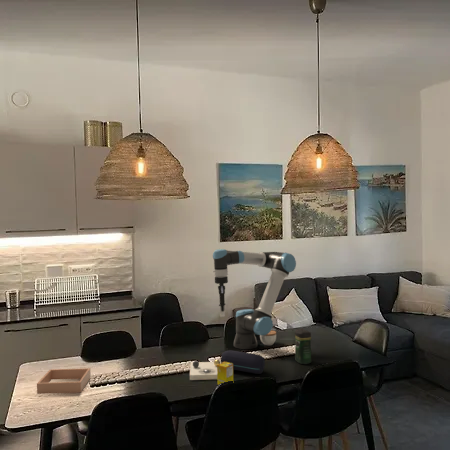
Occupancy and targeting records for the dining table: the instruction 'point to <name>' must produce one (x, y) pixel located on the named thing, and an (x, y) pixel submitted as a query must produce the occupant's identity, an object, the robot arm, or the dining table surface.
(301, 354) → the coffee jar
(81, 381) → the brown square tray
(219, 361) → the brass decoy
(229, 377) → the supplement box
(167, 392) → the dining table surface
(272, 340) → the lidded jar
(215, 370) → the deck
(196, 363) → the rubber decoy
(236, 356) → the portable speaker
